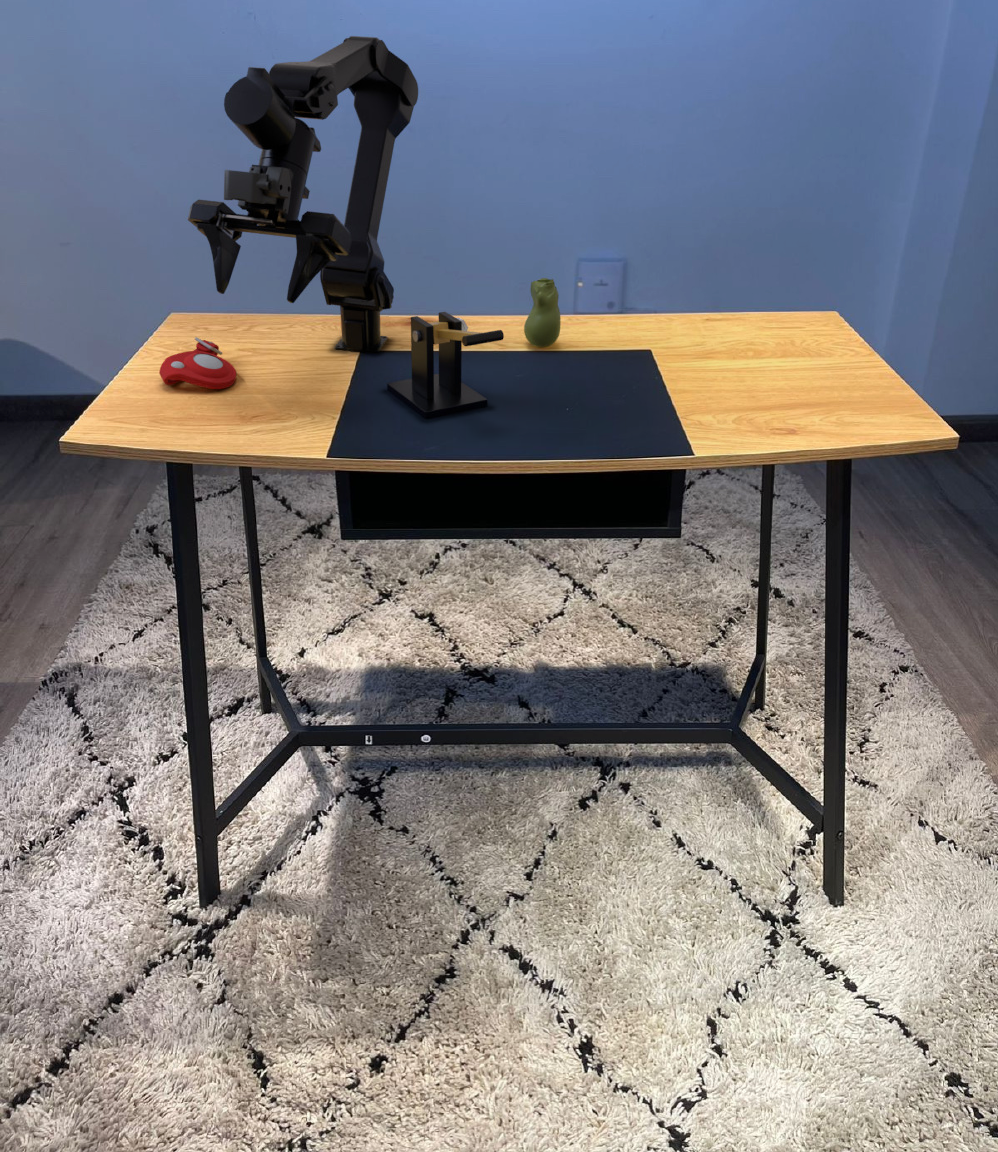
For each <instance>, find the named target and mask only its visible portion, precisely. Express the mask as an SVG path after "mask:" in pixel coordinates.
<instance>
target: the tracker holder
mask: <svg viewBox="0 0 998 1152" xmlns="http://www.w3.org/2000/svg"><path fill="white" fill-rule="evenodd" d="M194 340H195V341H196V342H197V343H196V345H195V349H193V350H188V351H183V352H178V353H175V354H172V355H169V356H167V357H165V359H164V360H163V362H162V363H161V365H160V368H159V376H160V378H161V379H162V381H163V383H164V385H166V386H172V385H175V384H177V383H180V382H181V381H183V382H185V383H187V384H191V385H194V386H198V387H202V388H205V389H212V390H221V389H227V388H230V387H231V386H233V385H234V384H235V382H236V378H237V370H236V368H235V366H234V365H233V364H232V363H230V362H229V360H226V359H225V358H223V357H221V356H222V355H223V352H222V351H221V350H220V347H219V345H218V344H215V343H214V342H213V341H209V340H206V339H201V338H200V337H199V338H198V337H196V336H195V337H194ZM219 355H220V356H219Z"/></svg>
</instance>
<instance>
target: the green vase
mask: <svg viewBox="0 0 998 1152" xmlns="http://www.w3.org/2000/svg"><path fill="white" fill-rule="evenodd" d="M555 285H556V282H555V280H554V279H553V278H551V279H550V278H547V277H542V278H539V279H537V280H533V281H531V282H530V290H529V291H530V295H531V299H532V302H533V305H532V308H531V310H530V312H529V314H528V316H527V318H526V320H525V322H524V327H523V333H524V336H525V338H526V340H527V341H528V343H529V344H531V345H532V346H533V347H537V348H547V347H550V346H552V345H553V344H555V343H556V342H557V340H558V338H559V337H560V333H561V325H562V323H561V321H562V320H561V311H560V307H559V299H560V297H559V295H560V294H559V291H558V288H557V286H555Z"/></svg>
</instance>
